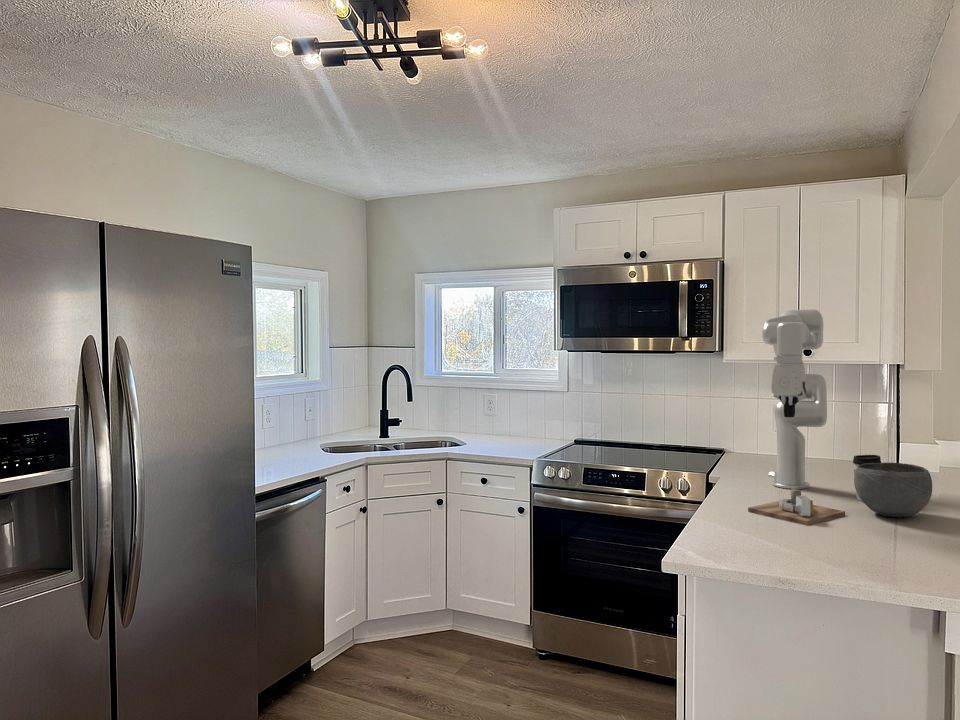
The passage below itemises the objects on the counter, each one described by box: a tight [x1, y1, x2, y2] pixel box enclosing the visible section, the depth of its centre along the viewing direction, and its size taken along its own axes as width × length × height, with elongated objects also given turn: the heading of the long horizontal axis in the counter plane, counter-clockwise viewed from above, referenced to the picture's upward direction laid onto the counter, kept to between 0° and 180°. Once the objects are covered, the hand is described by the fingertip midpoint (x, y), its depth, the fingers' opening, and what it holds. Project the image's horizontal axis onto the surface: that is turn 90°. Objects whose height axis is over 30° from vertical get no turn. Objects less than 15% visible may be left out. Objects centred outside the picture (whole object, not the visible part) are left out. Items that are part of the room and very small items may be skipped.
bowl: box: [853, 462, 933, 518], centre depth 217 cm, size 21×21×15 cm
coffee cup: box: [852, 454, 882, 502], centre depth 237 cm, size 8×8×15 cm
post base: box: [747, 489, 846, 526], centre depth 221 cm, size 20×20×7 cm
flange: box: [778, 495, 811, 516], centre depth 218 cm, size 9×14×5 cm, turn 173°
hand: (789, 416), depth 229 cm, fingers closed
